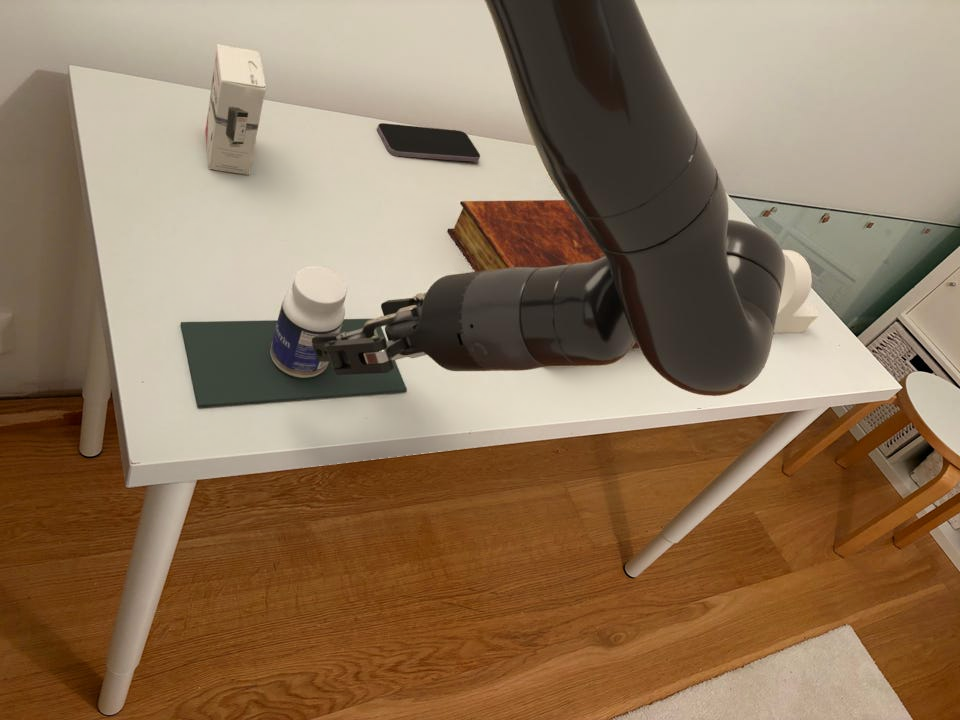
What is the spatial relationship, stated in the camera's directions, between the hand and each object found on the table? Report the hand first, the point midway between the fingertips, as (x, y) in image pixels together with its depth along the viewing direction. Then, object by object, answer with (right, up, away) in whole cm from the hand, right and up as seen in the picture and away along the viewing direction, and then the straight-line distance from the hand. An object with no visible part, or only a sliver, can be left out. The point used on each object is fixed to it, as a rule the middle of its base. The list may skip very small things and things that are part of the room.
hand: (353, 329), depth 64 cm
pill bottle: (-6, -3, +7) cm, 10 cm away
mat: (-7, -3, +7) cm, 10 cm away
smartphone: (+3, +29, +45) cm, 54 cm away
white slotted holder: (+53, +5, +48) cm, 71 cm away
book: (+24, +7, +34) cm, 43 cm away
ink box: (-20, +23, +25) cm, 39 cm away
